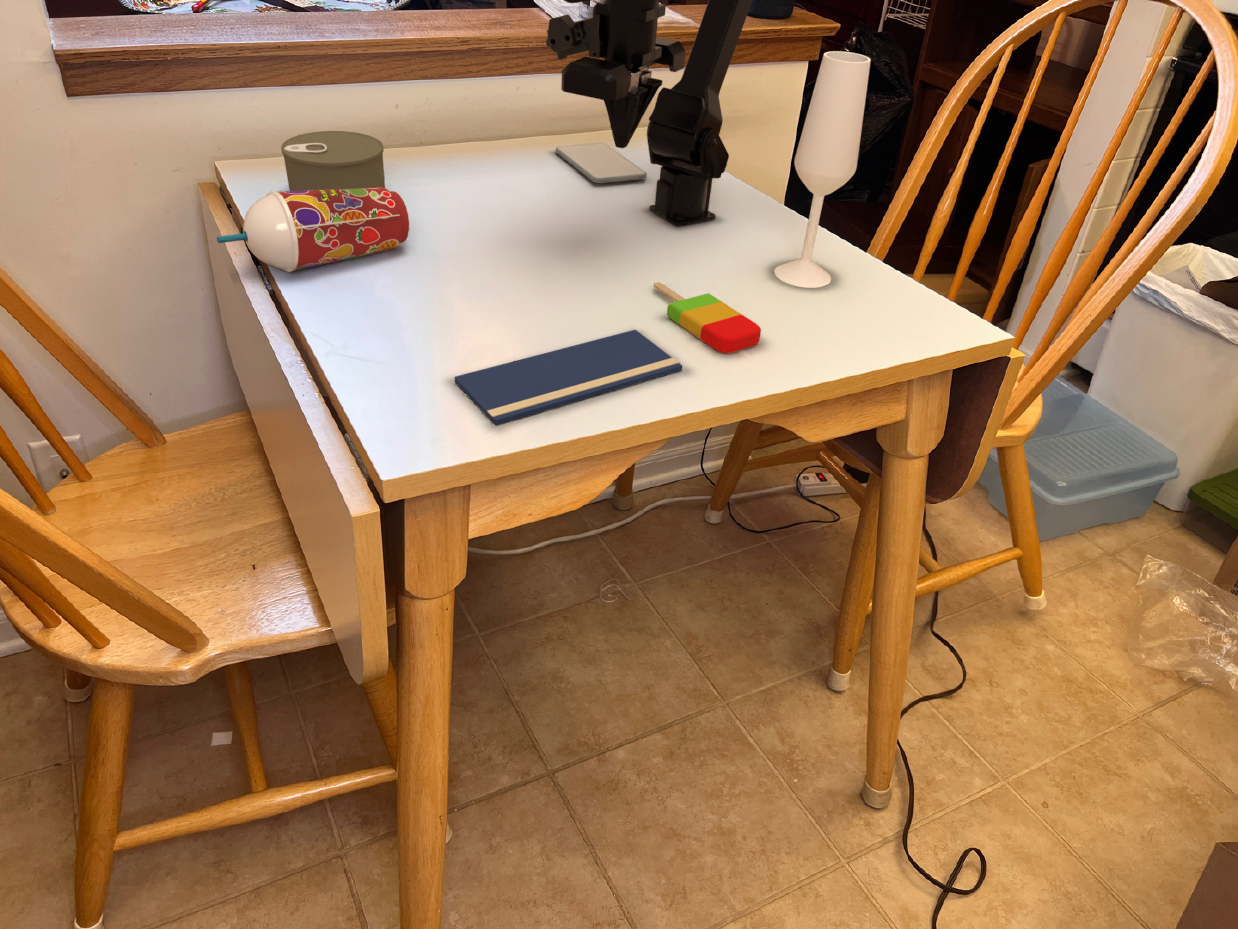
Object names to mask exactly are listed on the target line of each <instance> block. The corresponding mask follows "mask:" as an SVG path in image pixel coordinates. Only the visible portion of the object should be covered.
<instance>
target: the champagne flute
mask: <svg viewBox="0 0 1238 929" xmlns="http://www.w3.org/2000/svg"><path fill="white" fill-rule="evenodd" d="M871 62H872V61H871V58H870V57H869V56H867V55H864V54H860V53H856V52H849V51H841V50H840V51H839V50H836V51H835V50H833V51H832V50H831V51H827V52H824V53H823V55H822V60H821V63H820V66H819V69H818V74H817V77H816V81H815V85H814V88H813V92H812V95H811V99H810V103H809V106H808V110H807V113H806V117H805V120H804V123H803V128H802V131H801V135H800V138H799V142H798V146H797V149H796V153H795V156H794V160H793V161H794V167H795V168H794V169H795V171H796V174H797V176H798V178H799V179H800V181H801V182H802V183H803V184H804V186H805V187H806V188H807V190H808V191H809V192H810V193H812V194H813V196H812V201H811V206H810V211H809V215H808V222H807V225H806V231H805V236H804V240H803V246H802V251H801V256H800V258H799V259H798V258H797V259H796V260H792V261H789V262H786V263H783V264H779V265H778V266H777V267H776V268H774V270H773V272H774V276H775V277H776V278H777V279H778V280H780V281H781V282H783V283H785V284H787V285H790V286H794V287H799V288H805V289H815V288H816V289H817V288H822V287H826V286H828V285H829V284H830V283H831V282H832V277H831V275H830V274H829V273H828V272H827V271H826V270H824V269H823V268H822V267H820V266H819V265H818V264H816V263H815V262H814V261H812V257H813V253H814V248H815V242H816V239H817V238H816V237H817V232H818V228H819V224H820V218H821V213H822V208H823V204H824V199H825V196H827V195H830V194H832V193H834V192H835V191H837V190H838V189H840V188H841V187H843V186H845V185H846V183H847V182H849V181H850V180H851V178H852V177H853V176H854V175H855V174H856V171H857V168H858V160H859V152H860V145H861V136H862V130H863V122H864V113H865V107H866V99H867V92H868V84H869V76H870V70H871V69H870V68H871Z"/></svg>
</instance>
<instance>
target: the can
mask: <svg viewBox="0 0 1238 929" xmlns="http://www.w3.org/2000/svg"><path fill="white" fill-rule="evenodd" d="M280 150H281V154H282V155H283V159H284V166H285V172H286V178H287V179H286V180H287V184H288V191H307V190H333V189H359V188H386V180H385V170H384V169H385V167H384V150H385V148H384V144H383V143H382V141H381V140H380V139H378V138H376V137H374V136H371V135H368V134H364V133H360V132H355V131H347V130H345V131H343V130H322V131H311V132H306V133H302V134H298V135H295V136H292V137H290V138H288V139H286V140H285V141H284V142H282V143H281V147H280Z"/></svg>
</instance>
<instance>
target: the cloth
mask: <svg viewBox="0 0 1238 929" xmlns="http://www.w3.org/2000/svg"><path fill="white" fill-rule="evenodd" d="M681 371H683V364H681V362H680V361H679V360H678V359H676V358H675V357H672V356H671V355H670V354H668V353H667V352H665V351H664V349H662V348H661V347H659V346H658V345H656V343H654V342H653V341H651V340H650V339H649V338H647V337H646V336H645V335H643V334H642V333H641V332H639V331H638V330H637V329H632V330H629V331H624V332H620V333H617V334H612V335H609V336H605V337H602V338H597V339H593V340H590V341H586V342H583V343H579V344H575V345H571V346H567V347H563V348H560V349H555V350H552V351H547V352H544V353H540V354H536V355H533V356H529V357H525V358H521V359H516V360H513V361H509V362H505V363H502V364H498V365H494V366H490V367H486V368H482V369H479V370H475V371H471V372H468V373H463V374H460V375H456V376H454V383H455V384H456V385H457V386H458V387H459V388H460V390H462V392H463V393H464V394H465V395H466V396H467V397H468V398H469V399H470V400H471V401H472V403H474V404H475V406H476V407H477V408H478V409H479V410H480V411H481V412H482V413H483V414H484V415H485V416H486V417H487V418H488V420H489V421H490V422H491V423H492V424H493V425H494V426H499V425H502V424H503V425H504V424H506V423H509V422H513V421H517V420H519V419H523V418H526V417H529V416H534V415H536V414H539V413H543V412H547V411H551V410H553V409H556V408H560V407H564V406H566V405H570V404H574V403H577V402H580V401H584V400H587V399H590V398H594V397H598V396H600V395H603V394H608V393H611V392H614V391H617V390H621V389H624V388H627V387H631V386H634V385H638V384H641V383H645V382H649V381H651V380H654V379H658V378H661V377H665V376H668V375H671V374H675V373H679V372H681Z"/></svg>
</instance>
